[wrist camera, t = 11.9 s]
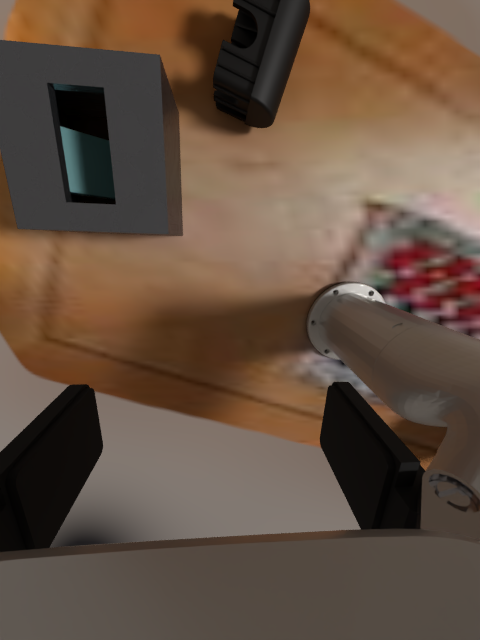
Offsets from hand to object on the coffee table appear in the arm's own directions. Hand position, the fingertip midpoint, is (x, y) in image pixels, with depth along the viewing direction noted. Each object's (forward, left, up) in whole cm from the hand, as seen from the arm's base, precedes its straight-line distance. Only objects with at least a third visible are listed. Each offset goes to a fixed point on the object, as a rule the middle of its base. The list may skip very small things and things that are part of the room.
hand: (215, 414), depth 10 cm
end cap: (-4, -25, -29) cm, 38 cm away
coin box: (+12, -14, -28) cm, 34 cm away
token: (+15, -11, -26) cm, 32 cm away
